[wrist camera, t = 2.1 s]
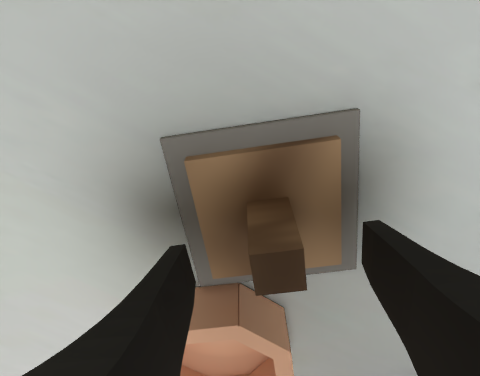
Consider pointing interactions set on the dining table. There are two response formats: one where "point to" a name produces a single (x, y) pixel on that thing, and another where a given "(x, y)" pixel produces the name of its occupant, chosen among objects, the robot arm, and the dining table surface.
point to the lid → (270, 211)
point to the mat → (261, 135)
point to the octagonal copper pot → (236, 334)
